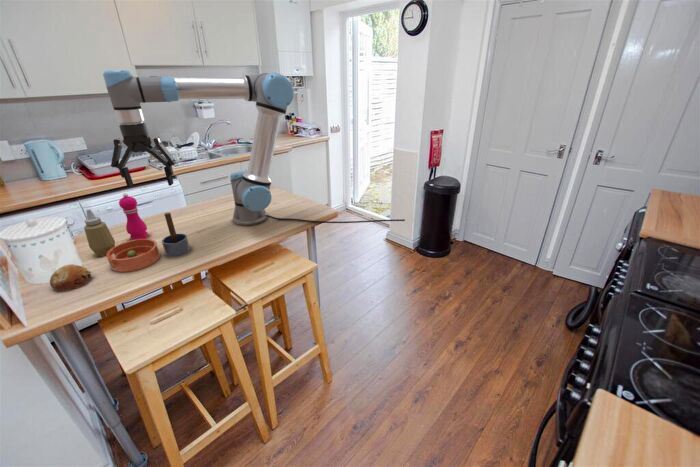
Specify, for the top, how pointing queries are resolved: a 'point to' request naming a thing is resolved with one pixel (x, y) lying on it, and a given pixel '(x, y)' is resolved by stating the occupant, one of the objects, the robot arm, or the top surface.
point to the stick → (171, 227)
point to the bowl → (123, 263)
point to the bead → (131, 254)
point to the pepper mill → (133, 218)
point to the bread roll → (69, 277)
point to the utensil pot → (176, 245)
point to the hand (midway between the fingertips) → (151, 185)
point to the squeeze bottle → (98, 235)
